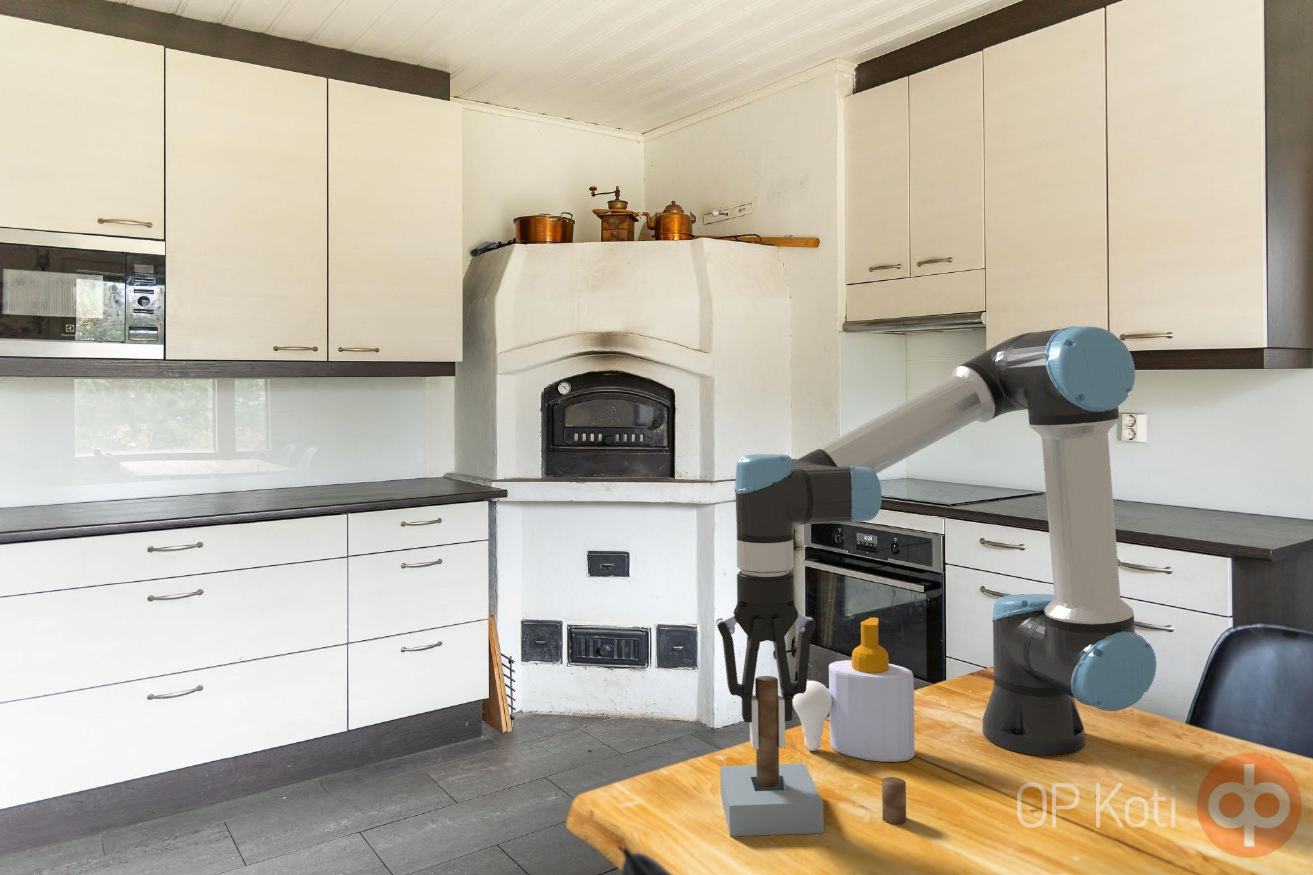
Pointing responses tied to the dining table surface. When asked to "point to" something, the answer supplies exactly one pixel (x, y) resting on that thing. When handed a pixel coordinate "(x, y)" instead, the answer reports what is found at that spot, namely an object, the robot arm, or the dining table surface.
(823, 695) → the lightbulb
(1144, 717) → the dining table surface
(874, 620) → the soap bottle
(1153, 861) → the dining table surface
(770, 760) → the long pin
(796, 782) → the collar block
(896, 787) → the short pin
